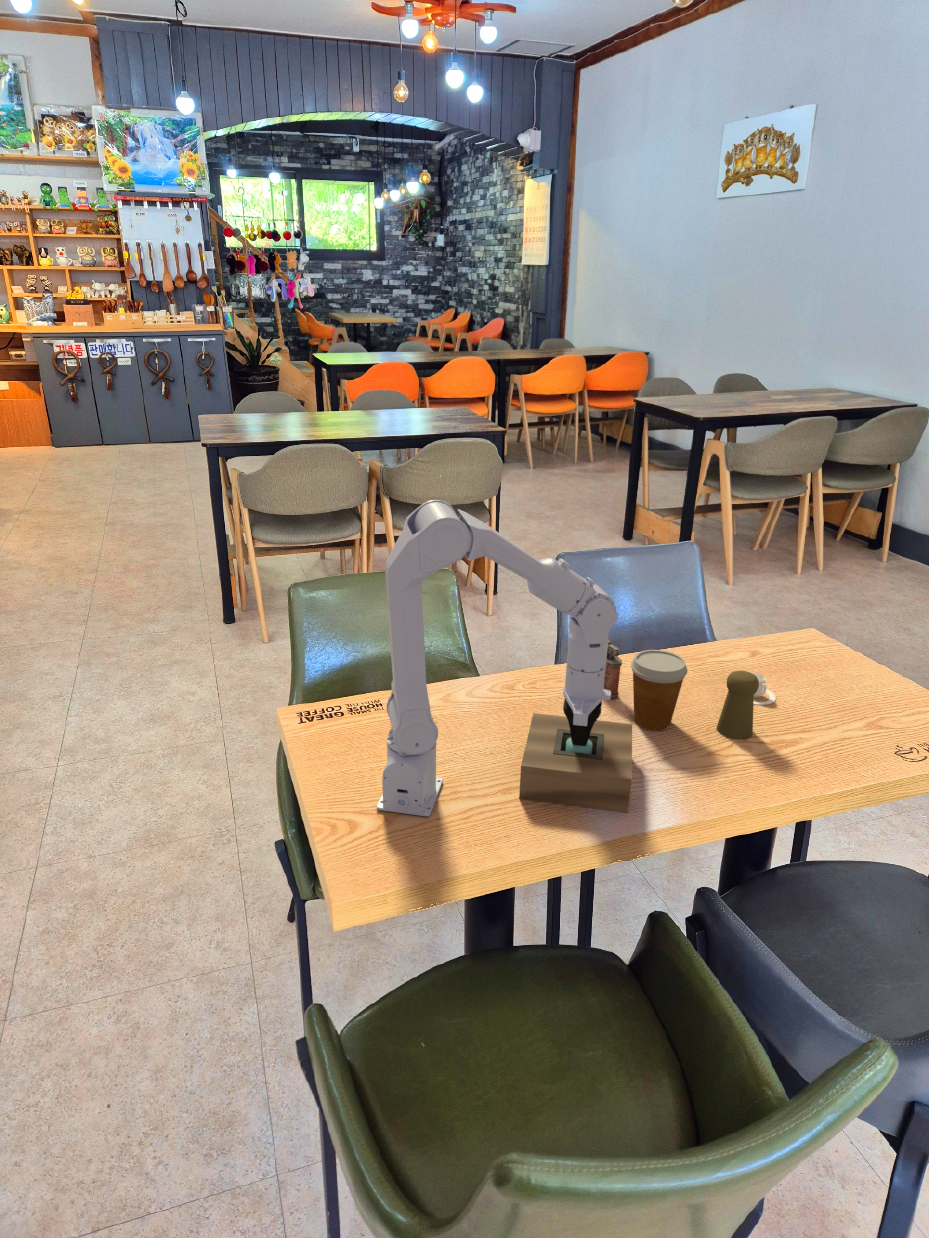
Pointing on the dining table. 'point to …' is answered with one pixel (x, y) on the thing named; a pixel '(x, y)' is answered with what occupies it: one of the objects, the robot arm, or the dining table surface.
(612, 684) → the lighter
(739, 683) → the olive green pawn
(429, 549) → the robot arm
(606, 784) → the block
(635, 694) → the disposable coffee cup
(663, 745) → the dining table surface
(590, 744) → the peg
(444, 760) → the dining table surface
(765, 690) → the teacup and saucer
